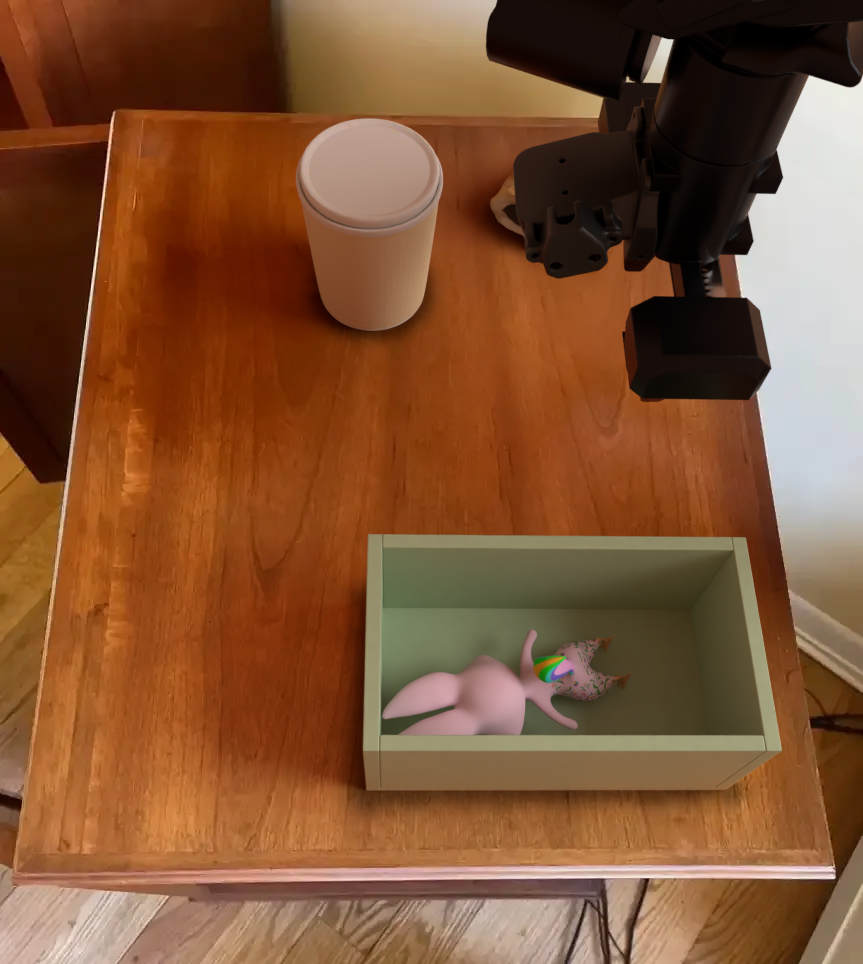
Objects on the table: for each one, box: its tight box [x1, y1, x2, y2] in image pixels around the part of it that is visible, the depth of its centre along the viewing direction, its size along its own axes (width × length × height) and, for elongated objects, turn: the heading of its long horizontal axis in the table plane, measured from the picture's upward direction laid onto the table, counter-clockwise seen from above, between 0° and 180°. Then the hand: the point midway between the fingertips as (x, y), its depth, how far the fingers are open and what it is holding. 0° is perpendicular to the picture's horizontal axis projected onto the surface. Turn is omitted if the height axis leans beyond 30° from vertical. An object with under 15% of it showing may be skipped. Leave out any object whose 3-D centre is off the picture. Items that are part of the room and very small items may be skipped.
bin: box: [362, 533, 783, 791], centre depth 56 cm, size 21×12×10 cm, turn 90°
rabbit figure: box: [382, 630, 634, 735], centre depth 56 cm, size 6×6×15 cm
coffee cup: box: [295, 118, 444, 332], centre depth 69 cm, size 9×9×12 cm
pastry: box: [489, 172, 525, 239], centre depth 77 cm, size 9×7×4 cm
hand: (640, 332), depth 58 cm, fingers open, 9 cm apart
